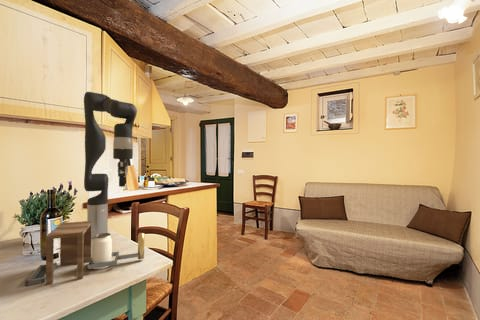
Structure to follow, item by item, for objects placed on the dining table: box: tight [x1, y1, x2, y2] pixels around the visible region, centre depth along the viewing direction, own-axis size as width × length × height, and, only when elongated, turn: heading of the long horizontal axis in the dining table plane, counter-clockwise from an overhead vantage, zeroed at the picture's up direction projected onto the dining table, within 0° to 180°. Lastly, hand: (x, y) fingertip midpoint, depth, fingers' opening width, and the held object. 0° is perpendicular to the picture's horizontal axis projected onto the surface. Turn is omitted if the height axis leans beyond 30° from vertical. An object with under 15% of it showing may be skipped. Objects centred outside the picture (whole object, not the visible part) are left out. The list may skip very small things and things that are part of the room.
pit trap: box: [24, 262, 58, 287], centre depth 80 cm, size 12×5×2 cm, turn 23°
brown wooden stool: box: [45, 220, 93, 285], centre depth 84 cm, size 16×10×16 cm, turn 23°
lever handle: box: [87, 232, 145, 270], centre depth 90 cm, size 9×19×10 cm, turn 113°
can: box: [92, 232, 113, 271], centre depth 88 cm, size 6×6×12 cm
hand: (122, 185), depth 99 cm, fingers open, 8 cm apart
